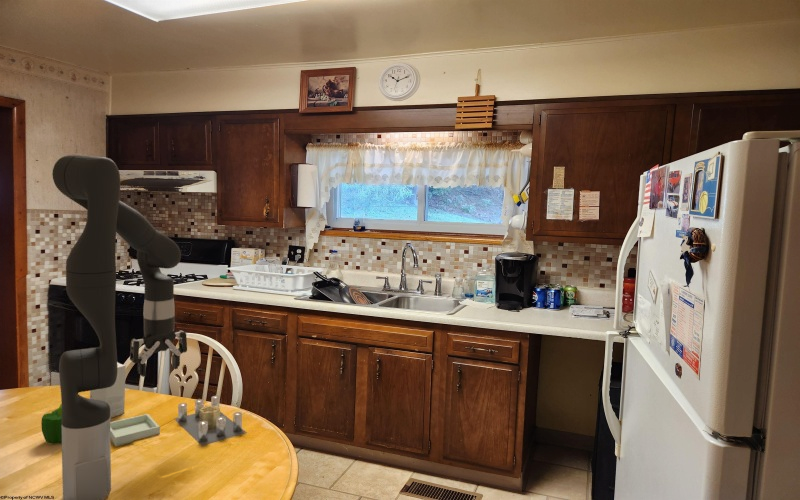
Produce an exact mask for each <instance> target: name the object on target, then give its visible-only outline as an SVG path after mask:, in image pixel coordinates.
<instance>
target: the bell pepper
mask: <svg viewBox="0 0 800 500" xmlns="http://www.w3.org/2000/svg"><path fill="white" fill-rule="evenodd" d="M40 425H41V432H42V435H43V438H44V440H45V442H46V443H47V444H50V445H56V444H62V403H61V404H60V405H59V407H58V408H56V409H55V410H53V411H51V412H48V413H45V414H43V415H42V417H41V424H40Z"/></svg>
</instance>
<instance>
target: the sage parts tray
mask: <svg viewBox="0 0 800 500" xmlns="http://www.w3.org/2000/svg"><path fill="white" fill-rule="evenodd" d="M160 429H161V427H160V425H159V424H158V423H157V421H155V420H154V418H152V417H151V415H150V414H149V413H145V414H141V415H136V416H132V417H128V418H123V419H122V418H121V419H119V420H118V419H117V420H114V421H110V441H111V442H112V444H113V445H114V446H115V447H119V446H122V445H127V444H131V443H134V441H137V440H141V439H143V438H148V437H152V436H155V435H160V434H161V433H160V432H161V430H160Z"/></svg>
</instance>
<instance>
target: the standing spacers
mask: <svg viewBox="0 0 800 500" xmlns="http://www.w3.org/2000/svg"><path fill="white" fill-rule="evenodd" d="M210 401H211V402H210V406H217V407H218V408H220V396H219V395H213V396H211V400H210ZM204 402H205V401H204V399H202V398H201V399H200V398H199V399H195V401H194V414H195V418H199V410H200V409H201V408H203V407H205V406H204V404H205V403H204ZM177 407H178V408H177V414H178V415H177V418H178V422H186V421H187V415H188V404H187V402H181V403H179V404H178V406H177ZM232 416H233V420H232V421H233V431H234V432H240V431H242V429H243V413H242V412H241V411H235V412H233V414H232ZM178 422H177V423H178ZM216 436H217V437H223V436H225V417H223V416H220V417H217V418H216ZM207 440H208V422H207V421H201V422H199V440H198V441H199V442H205V441H207Z"/></svg>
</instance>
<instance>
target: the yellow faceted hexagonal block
mask: <svg viewBox="0 0 800 500" xmlns="http://www.w3.org/2000/svg"><path fill="white" fill-rule="evenodd" d="M220 412H221V408H220V407H219V408H218V407H217V406H211V405H205V406H204V407H203V408H201V409H200V410H199V422H201V421H207V422H208V429H214V428H216V418H217V417H220Z"/></svg>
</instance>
